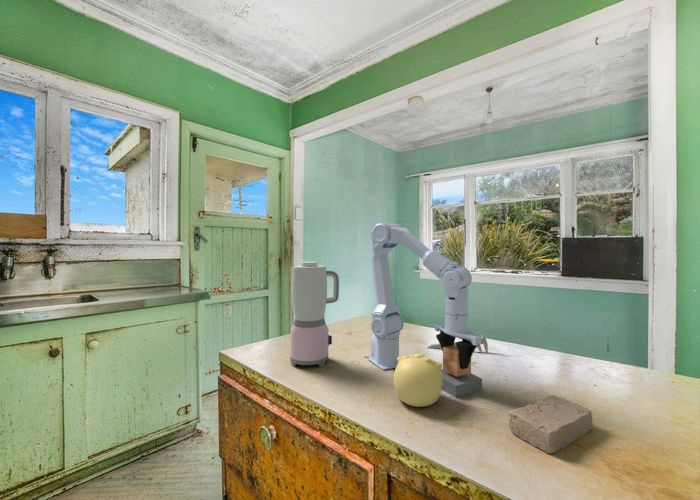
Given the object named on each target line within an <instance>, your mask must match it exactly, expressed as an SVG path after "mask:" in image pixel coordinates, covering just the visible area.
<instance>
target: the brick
mask: <svg viewBox="0 0 700 500" xmlns="http://www.w3.org/2000/svg"><path fill="white" fill-rule="evenodd" d="M592 413H593V412H592V410H590V409H589V408H587V407H585V406H583V405H582V404H579V403H576V402H573V401H572V400H568V399H565V398H562V397H560V396H557V395H554V394H552V395H550V396H546V397H543V398H541V399H539V400H538V401H536V402H535V403H534V404H526V406H521V407H518V408H515V409H512V410H510V411H509V412H508V416H509V417H508V427H509V430H510V431H511V432H512V433H513V434H514V435H515V436H517V437H518V438H519V439H521V440H523V441H525V442H527V443H529V444H530V445H531V446H533V447H536V448H538V449H540V450H542V451H544V452H545V453H546V454H547V453H548V454H555V453H557V452H559V451H560V450H561V449H565V448H566V447H567V446H569V445H570V443H571V444H572V443H573V442H575V441H576V440H577V439H579V438H581V437H582V436H584V435H586V434H587V433H589V432H590V431H591V430H593V428H594V427H593V426H594V425H593V415H592ZM581 435H582V436H581Z"/></svg>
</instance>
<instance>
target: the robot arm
mask: <svg viewBox="0 0 700 500" xmlns="http://www.w3.org/2000/svg"><path fill="white" fill-rule="evenodd" d="M369 234H370V239H371V240H370V241H371V242H370V247H369V256H370V262H371V263H370V264H371V271H372V272H371V273H372V279H373V285H374V286H373V287H374V293H375V294H374V295H375V303H376V307H375V308H374V309H373V311H372V313H371V316H372V317H371V318H372V319H371V322H370V328H371V331H372V333H373V335H371V339H370V357H369V358H368V361H369V362H371V363H372V364H374V365H376V367H377V368H378V367H379V368H380V369H381V370H382V371H386V370H390V369H394V368H395V369H396V367H397V365H398V361H397V358H398V357H400V334H401V331H402V330H403V329H404V327H405V322H404V318H403V317H402V315H401V312H400V308H399V307H398V306H397V305H396V304H395V299H394V294H393V285H392V278H391V269H390V263H389V257H388V256H389V254H390V252H391V251H392V250H393V249H394V248H395V247H397V246H398V245H402V246H403V247H405V248H407V249H408V250H409V251H410V252H412V253H413V254H414V255H416V256H417V257H419V258H420V259H421V260H422V265H423V266H424V268H426V269H427V270H428V271H430V272H431V273H432V274H433V275H434V276H435V277H437V278H438V279H439V280H440V282H441V286H443V288H444V298H445V299H444V300H445V301H444V303H445V304H444V306H445V307H444V308H445V309H444V313H445V314H444V323H441V322H439V323H435V324H434V331H435V332H439V334H436V336H435V338H436V339H437V341H438V344H440V345H441V348H440V349H441V351H442V353H443V347H448V346H454V342H456V345H457V348H458V352H459V361H460V368H461V369H466V368H468V366H469V363H470V359H471V360H472V356H473V354H474V351H476V349H477V348H478V347H477V346H478V345H480V346H481V345H482V344H481V338H482V336H481V335H480V336H481V337H480V336H479V335H478V334H475V333H474V332H472V331H471V330H470V329H471V328H469V286H470V285H471V283H472V280H473V279H472V278H473V277H472V274H471V272H470V271H469V270H468V269H467V267H465V266H458V263H457V262H456V261H452V260H451V259H450V258H448V257H447V256H445V252H444V251H443V250H438V249H429V247H427V246H426V245H425V244H424V243H423V242H421V240H419V239H418V238H417V237H416V236H415V235H414V234H412V233H411V232H410V231H409V229H408V228H407V227H404V226H403V225H402V224H400V223H384V222H378V223H377V224H375V225H374V227H373V228H372V229H371V231H370V232H369ZM456 339H460V341H456Z"/></svg>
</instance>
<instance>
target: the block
mask: <svg viewBox="0 0 700 500" xmlns="http://www.w3.org/2000/svg"><path fill="white" fill-rule="evenodd" d="M442 369H443V370H445V371H447V372H448V373H450V374H452V375H454V376H456V377H458V376H462V375H466V374H470V373H471V374H472V358H471V359H470V363H469V366H468V368H466V369H461V368H460V361H459V352H458V348H457V345H454V346H448V347H443V352H442Z"/></svg>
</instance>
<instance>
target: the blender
mask: <svg viewBox="0 0 700 500" xmlns="http://www.w3.org/2000/svg"><path fill="white" fill-rule="evenodd" d="M289 269H290V270H291V282H290V283H291V292H290V293H291V294H290V295H291V303H292V310H293V316H294V321H293V324H292V326H291V329H290V333H289V334H290V335H289V338H290V356H289V360H290V363H291V364H290V365H291V366H292V367H294V368H295V367H297V365H301V366H315V365H318V367H319V368H321V367H324V366H325V365H326V364H325V363H326V361H327V360H328V359H329V346H330V345H332V343H333V341H332V339H333V336H332V335H330V334H329V331H330V329H329V327H328V325H327V323H326V320H325V314H326V313H325V312H326V308H327V304H331V303H332V304H333V303H336V302H337V301H338V300H339V294H340V279H339V275H338V274H337V272H335V271H333V270H332V271H331V270H327V267H326V265H320V264H319V265H318V261H302V262H301V263H300V265H294V266H290V267H289ZM328 277H331V278H333V296H332V297H328Z"/></svg>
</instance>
